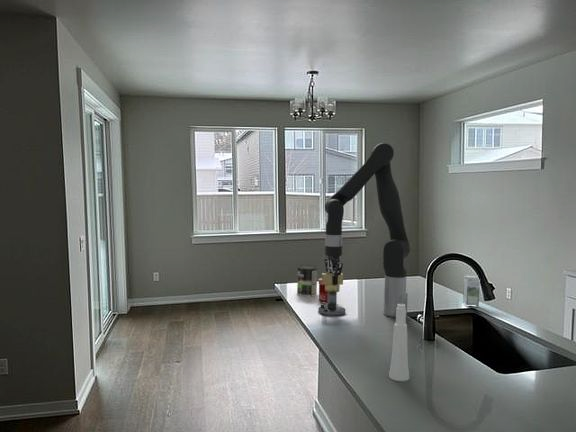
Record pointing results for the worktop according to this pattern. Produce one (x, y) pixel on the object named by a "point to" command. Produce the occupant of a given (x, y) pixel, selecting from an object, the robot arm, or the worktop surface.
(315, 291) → the coffee can
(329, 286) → the door handle
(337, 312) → the round metal flange
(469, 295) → the syrup box
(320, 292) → the canned food
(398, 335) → the cosmetic bottle
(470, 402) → the worktop surface
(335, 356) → the worktop surface
